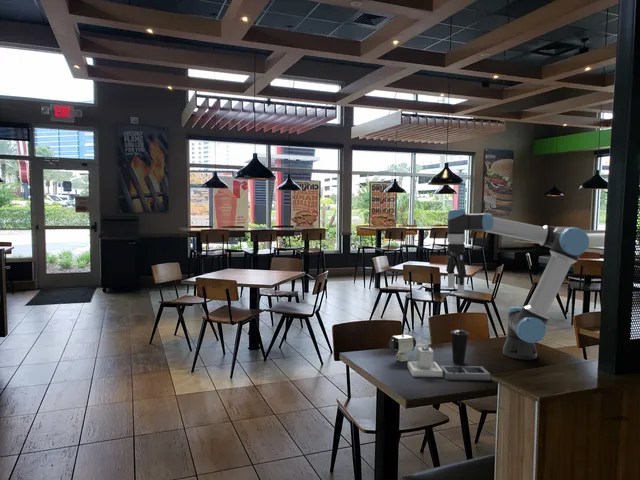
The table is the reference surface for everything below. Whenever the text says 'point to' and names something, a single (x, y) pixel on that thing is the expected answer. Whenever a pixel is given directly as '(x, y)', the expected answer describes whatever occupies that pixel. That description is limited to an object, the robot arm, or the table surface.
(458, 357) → the drinking cup
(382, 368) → the table surface
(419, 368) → the white block
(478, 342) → the table surface
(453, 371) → the gray divided tray
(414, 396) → the table surface
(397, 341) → the pneumatic valve
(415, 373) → the tray
